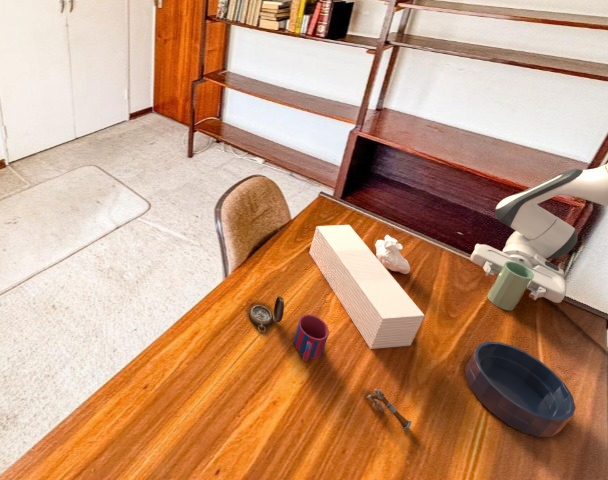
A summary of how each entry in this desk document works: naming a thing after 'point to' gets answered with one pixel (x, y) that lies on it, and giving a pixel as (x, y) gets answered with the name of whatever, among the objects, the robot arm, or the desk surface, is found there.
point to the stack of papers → (365, 288)
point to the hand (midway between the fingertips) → (510, 285)
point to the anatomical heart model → (391, 255)
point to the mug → (310, 337)
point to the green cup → (510, 285)
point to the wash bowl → (519, 389)
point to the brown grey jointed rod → (390, 407)
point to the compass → (267, 314)
